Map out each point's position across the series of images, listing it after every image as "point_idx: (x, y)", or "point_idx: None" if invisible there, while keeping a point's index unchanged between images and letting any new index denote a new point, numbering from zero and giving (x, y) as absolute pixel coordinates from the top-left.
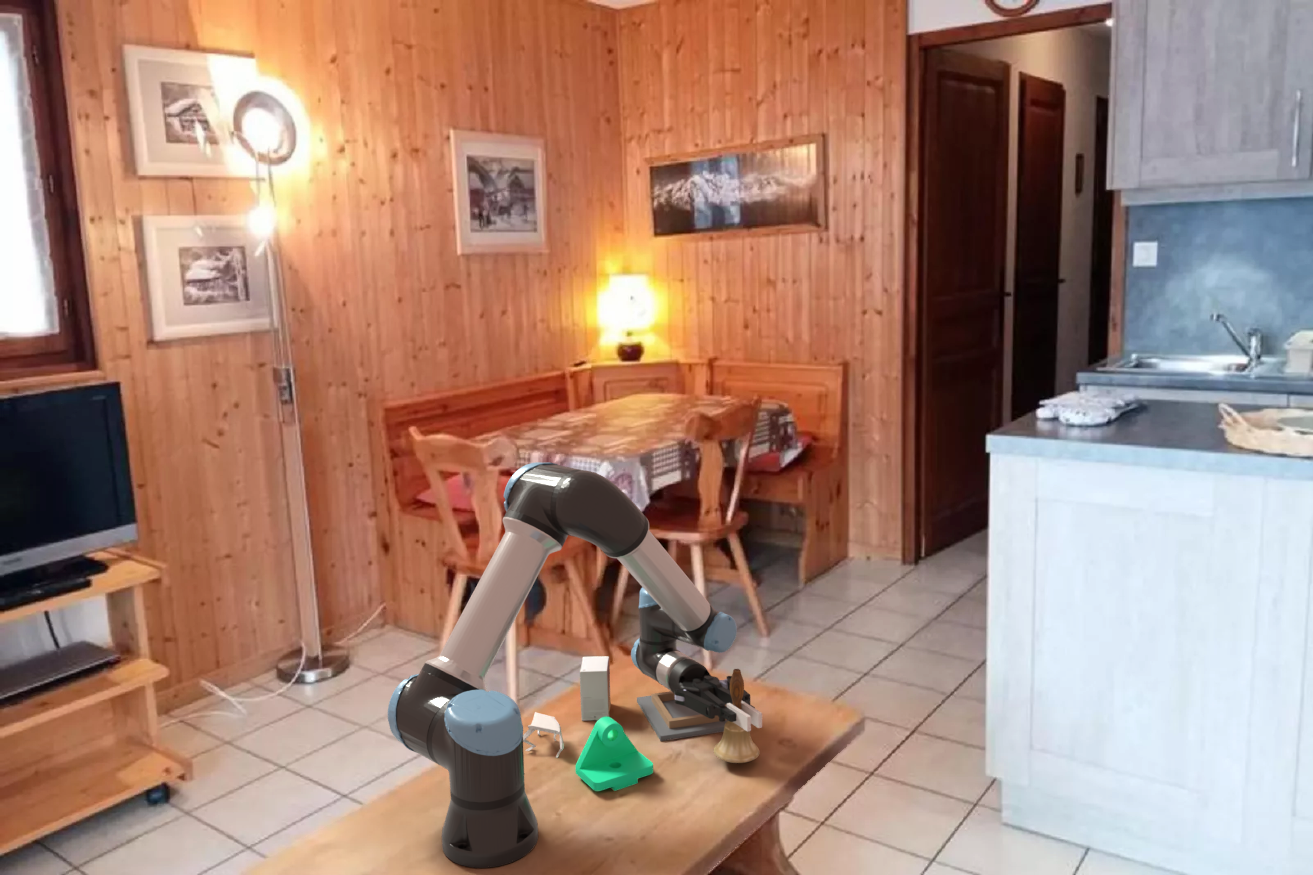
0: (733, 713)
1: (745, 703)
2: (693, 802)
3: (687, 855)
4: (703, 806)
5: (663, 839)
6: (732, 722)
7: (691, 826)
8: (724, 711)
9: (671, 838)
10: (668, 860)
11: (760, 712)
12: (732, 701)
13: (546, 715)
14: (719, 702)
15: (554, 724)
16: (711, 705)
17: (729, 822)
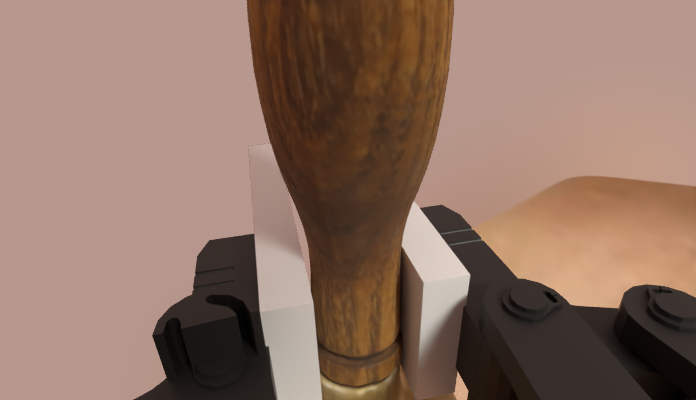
0: (424, 213)
1: (267, 238)
2: None
3: (583, 185)
4: (559, 292)
5: (653, 220)
6: (402, 378)
7: (587, 238)
8: (496, 262)
9: (633, 219)
10: (622, 183)
11: (253, 148)
12: (406, 220)
13: None
14: (561, 337)
15: None
16: (666, 290)
17: (484, 232)
